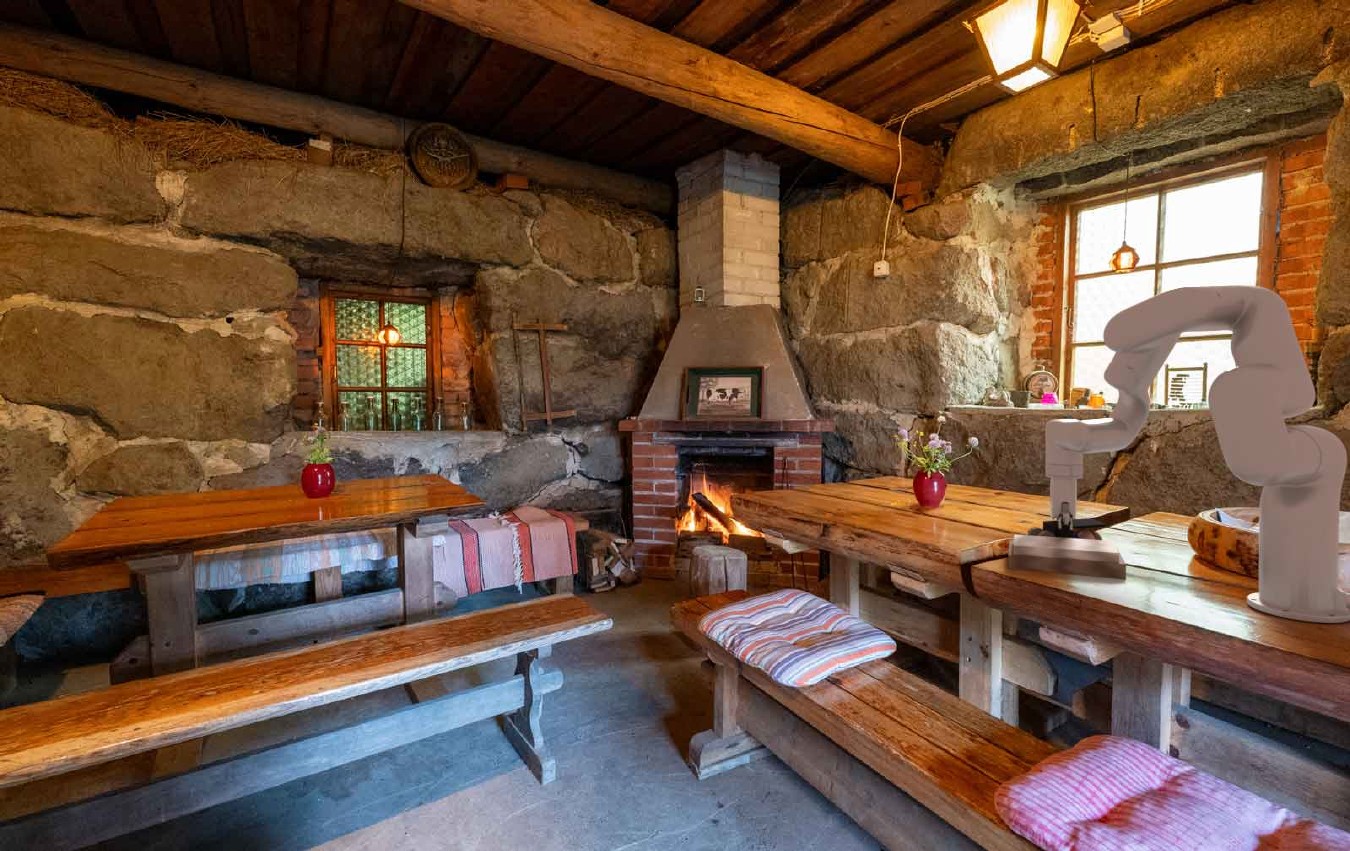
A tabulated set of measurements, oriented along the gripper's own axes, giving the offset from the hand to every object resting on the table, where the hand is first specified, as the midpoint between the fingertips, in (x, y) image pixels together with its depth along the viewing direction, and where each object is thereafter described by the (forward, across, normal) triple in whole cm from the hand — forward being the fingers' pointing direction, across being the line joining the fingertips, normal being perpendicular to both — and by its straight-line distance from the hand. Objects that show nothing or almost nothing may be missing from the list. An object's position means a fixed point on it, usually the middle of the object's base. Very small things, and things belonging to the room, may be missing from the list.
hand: (1064, 541), depth 148 cm
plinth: (+2, +14, -1) cm, 14 cm away
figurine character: (+2, 0, +1) cm, 3 cm away
